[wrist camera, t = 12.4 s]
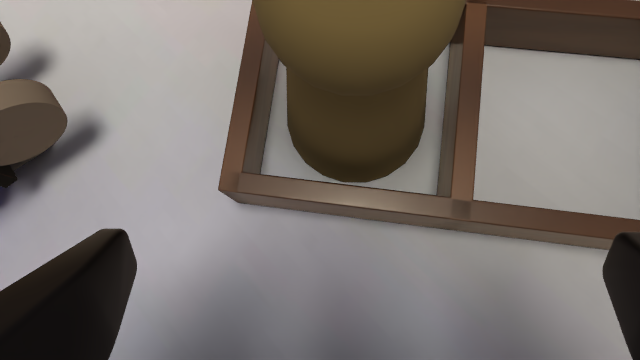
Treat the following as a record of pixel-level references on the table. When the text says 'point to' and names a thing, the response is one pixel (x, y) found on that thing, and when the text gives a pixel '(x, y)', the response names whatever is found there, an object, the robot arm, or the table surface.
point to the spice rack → (458, 126)
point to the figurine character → (25, 119)
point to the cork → (357, 77)
